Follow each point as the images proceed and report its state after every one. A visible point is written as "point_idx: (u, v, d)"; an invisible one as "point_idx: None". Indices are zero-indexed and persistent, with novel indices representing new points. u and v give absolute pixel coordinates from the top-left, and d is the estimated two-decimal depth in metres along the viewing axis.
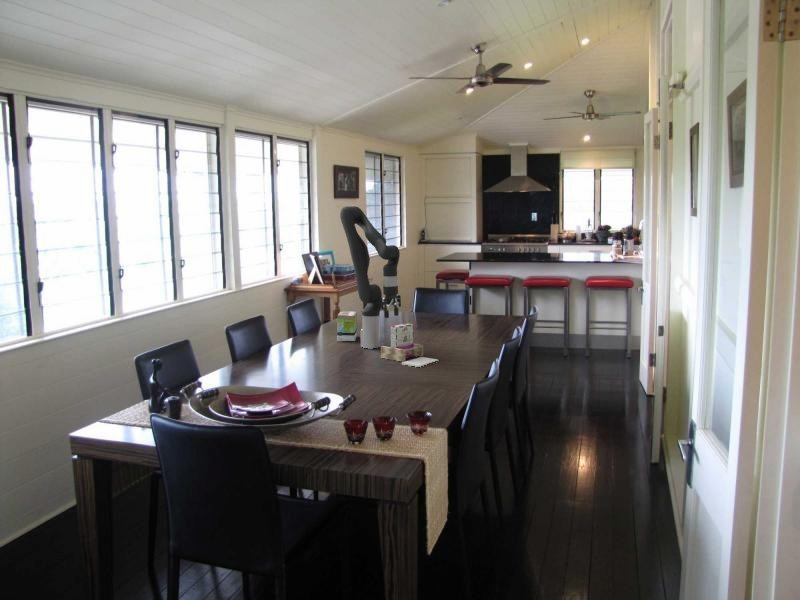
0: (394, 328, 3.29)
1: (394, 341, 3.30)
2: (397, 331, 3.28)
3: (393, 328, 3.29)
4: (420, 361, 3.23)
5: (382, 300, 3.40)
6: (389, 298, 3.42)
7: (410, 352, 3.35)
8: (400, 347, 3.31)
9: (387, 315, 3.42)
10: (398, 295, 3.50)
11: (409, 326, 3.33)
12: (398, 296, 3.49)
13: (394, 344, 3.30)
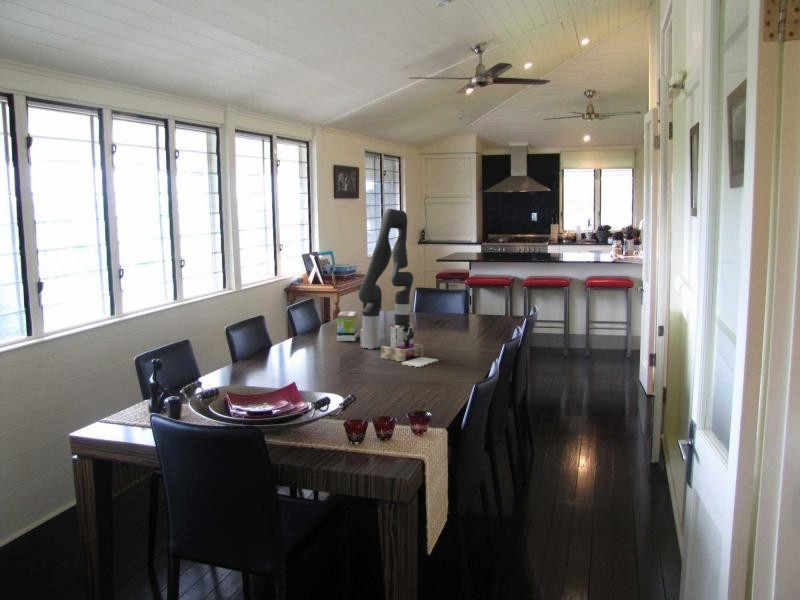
0: (394, 328, 3.29)
1: (394, 341, 3.30)
2: (397, 331, 3.28)
3: (393, 328, 3.29)
4: (420, 361, 3.23)
5: (412, 330, 3.29)
6: None
7: (410, 352, 3.35)
8: (400, 347, 3.31)
9: None
10: (393, 324, 3.37)
11: None
12: None
13: (394, 344, 3.30)
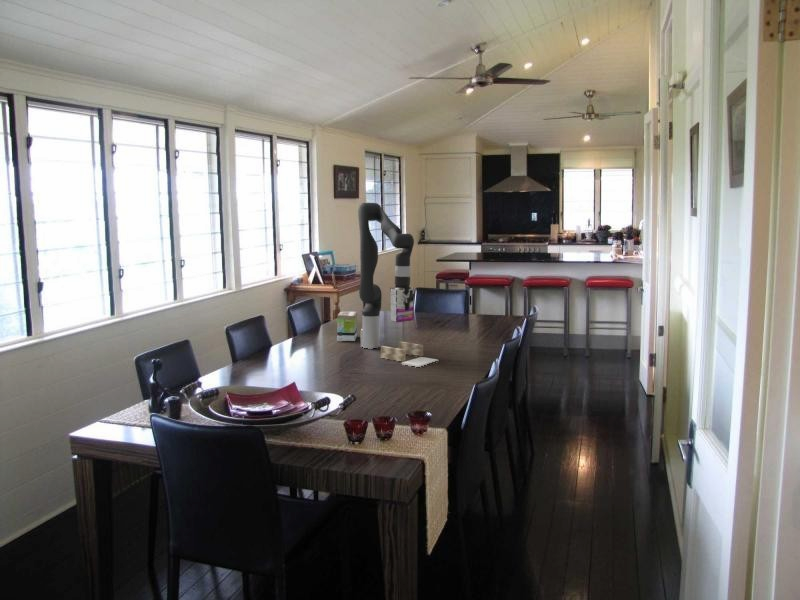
0: (394, 290, 3.26)
1: (394, 304, 3.27)
2: (397, 293, 3.26)
3: (393, 290, 3.27)
4: (420, 361, 3.23)
5: (412, 292, 3.26)
6: None
7: (410, 315, 3.32)
8: (400, 310, 3.28)
9: None
10: (393, 287, 3.34)
11: None
12: None
13: (395, 306, 3.27)
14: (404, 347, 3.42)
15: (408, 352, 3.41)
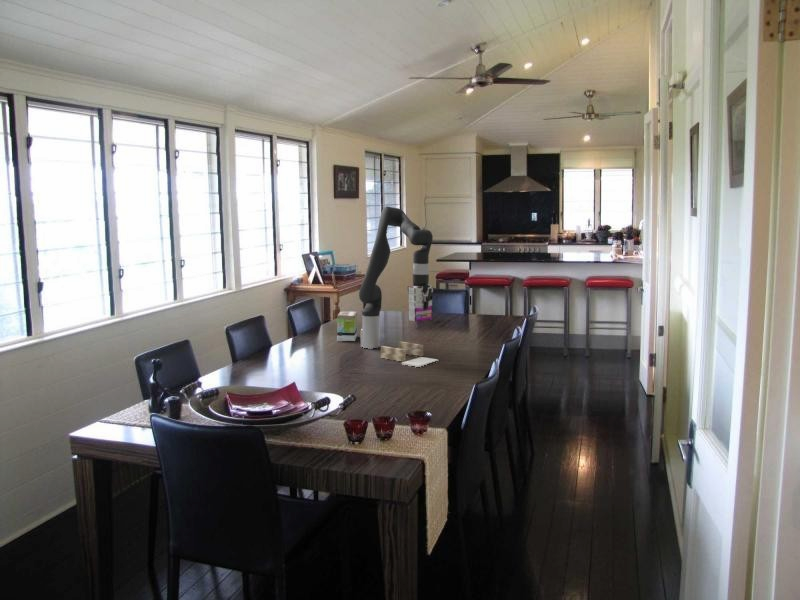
0: (412, 289, 3.14)
1: (412, 303, 3.15)
2: (416, 291, 3.14)
3: (411, 289, 3.15)
4: (420, 361, 3.23)
5: (431, 291, 3.14)
6: None
7: (429, 314, 3.21)
8: (419, 309, 3.16)
9: None
10: None
11: None
12: None
13: (413, 305, 3.15)
14: (404, 347, 3.42)
15: (408, 352, 3.41)
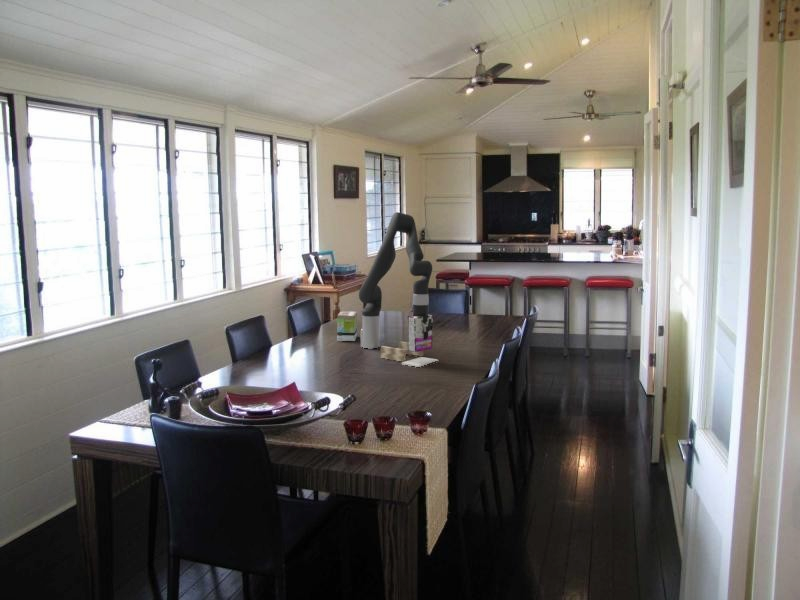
0: (412, 319, 3.16)
1: (412, 333, 3.17)
2: (416, 322, 3.16)
3: (411, 319, 3.17)
4: (420, 361, 3.23)
5: (431, 321, 3.16)
6: None
7: (429, 344, 3.23)
8: (419, 339, 3.18)
9: None
10: (411, 315, 3.25)
11: None
12: None
13: (413, 335, 3.17)
14: (404, 347, 3.42)
15: (408, 352, 3.41)
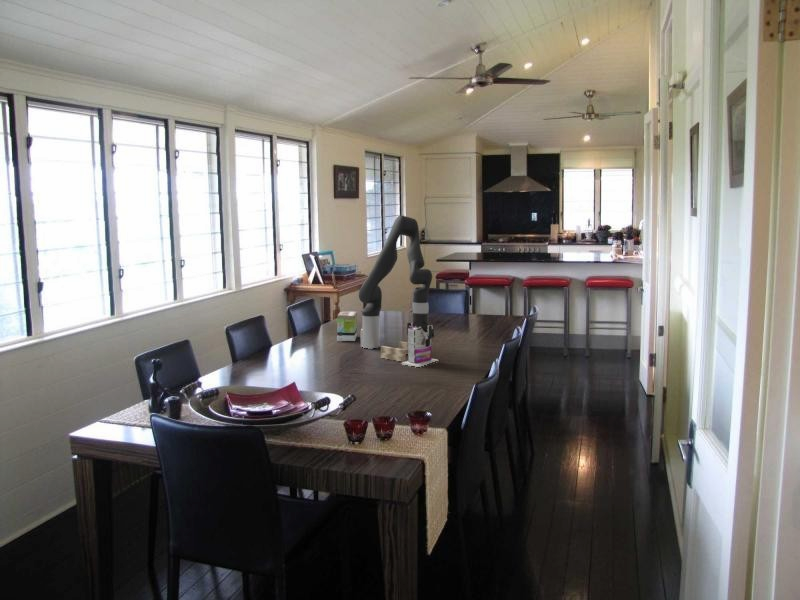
0: (412, 330, 3.17)
1: (412, 344, 3.18)
2: (415, 333, 3.17)
3: (411, 331, 3.18)
4: None
5: (431, 328, 3.16)
6: None
7: (428, 355, 3.24)
8: (418, 350, 3.19)
9: None
10: (411, 322, 3.25)
11: None
12: None
13: (413, 347, 3.18)
14: (404, 347, 3.42)
15: None
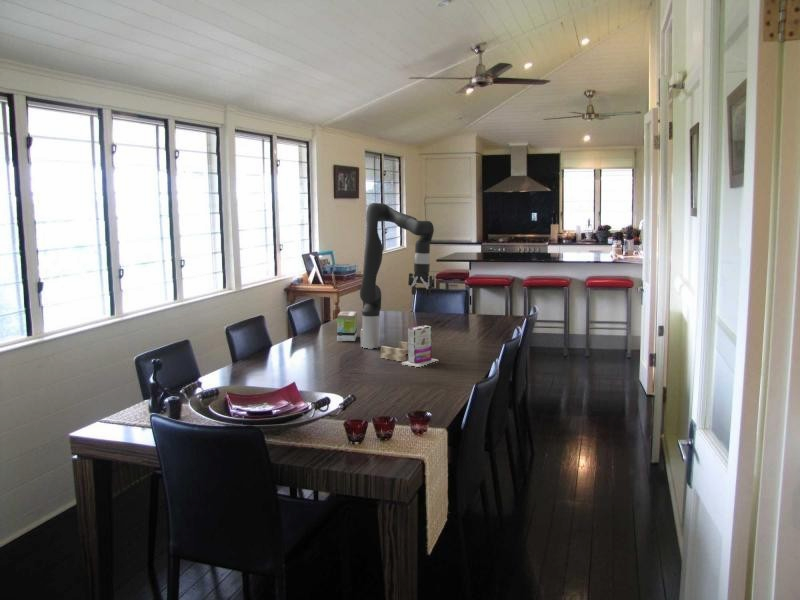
0: (412, 330, 3.17)
1: (412, 344, 3.18)
2: (415, 333, 3.17)
3: (411, 331, 3.18)
4: None
5: (432, 278, 3.25)
6: None
7: (428, 355, 3.24)
8: (418, 350, 3.19)
9: None
10: (412, 273, 3.34)
11: (427, 328, 3.21)
12: None
13: (413, 347, 3.18)
14: (404, 347, 3.42)
15: None
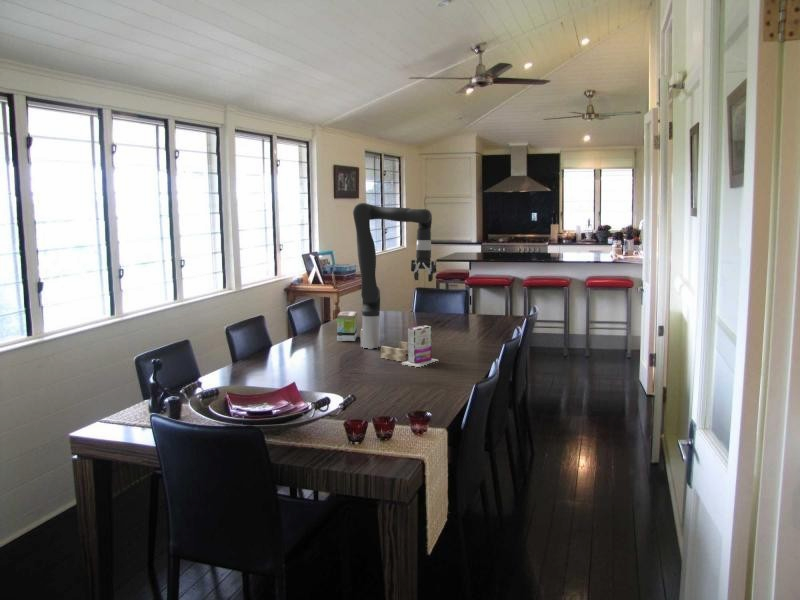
0: (412, 330, 3.17)
1: (412, 344, 3.18)
2: (415, 333, 3.17)
3: (411, 331, 3.18)
4: None
5: (434, 263, 3.41)
6: None
7: (428, 355, 3.24)
8: (418, 350, 3.19)
9: None
10: None
11: (427, 328, 3.21)
12: None
13: (413, 347, 3.18)
14: (404, 347, 3.42)
15: None
